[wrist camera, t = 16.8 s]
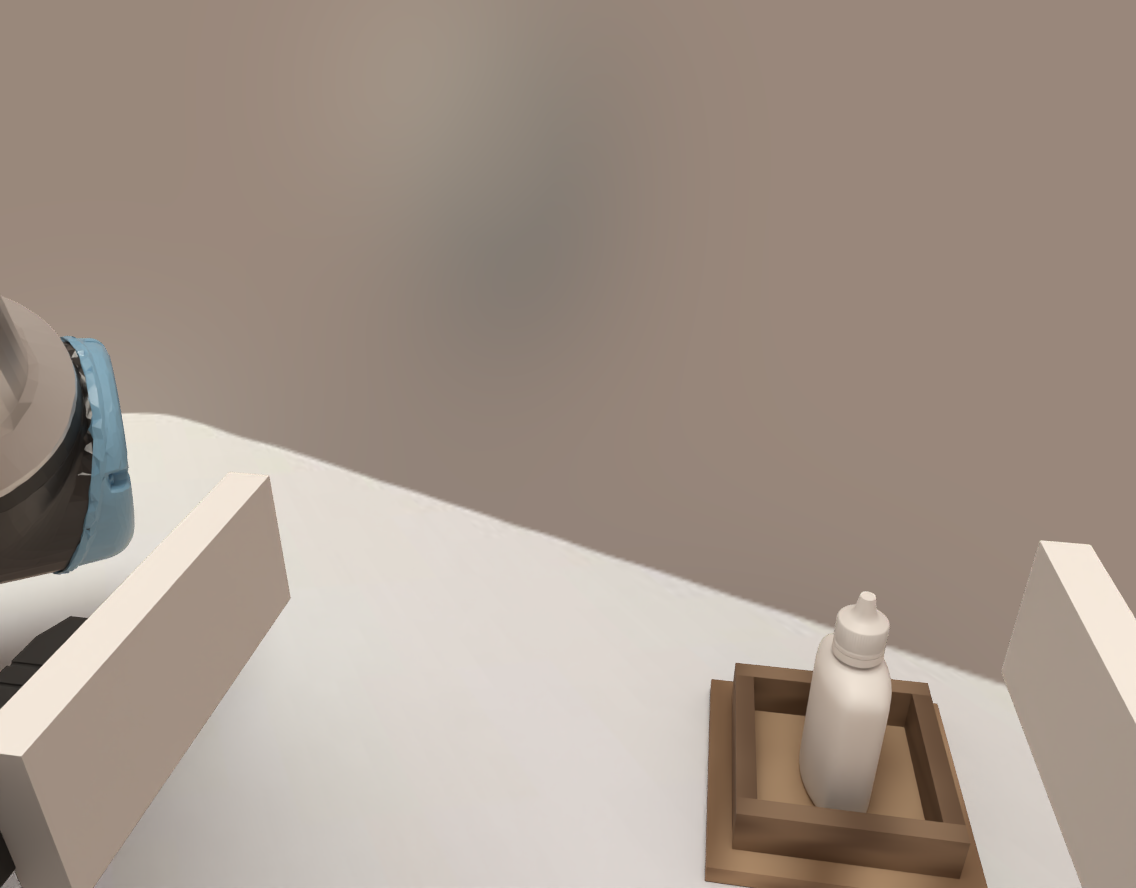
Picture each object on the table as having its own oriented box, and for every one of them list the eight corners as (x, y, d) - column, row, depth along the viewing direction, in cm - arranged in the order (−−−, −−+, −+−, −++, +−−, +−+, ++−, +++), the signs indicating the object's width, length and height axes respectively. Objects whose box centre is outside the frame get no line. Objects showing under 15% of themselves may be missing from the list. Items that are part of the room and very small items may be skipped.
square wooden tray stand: (705, 880, 44) (710, 831, 43) (710, 691, 56) (714, 646, 54) (988, 919, 43) (1004, 869, 41) (933, 716, 54) (945, 670, 52)
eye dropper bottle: (888, 760, 50) (930, 580, 44) (858, 835, 45) (900, 646, 40) (810, 728, 52) (840, 552, 46) (774, 797, 48) (802, 612, 42)
